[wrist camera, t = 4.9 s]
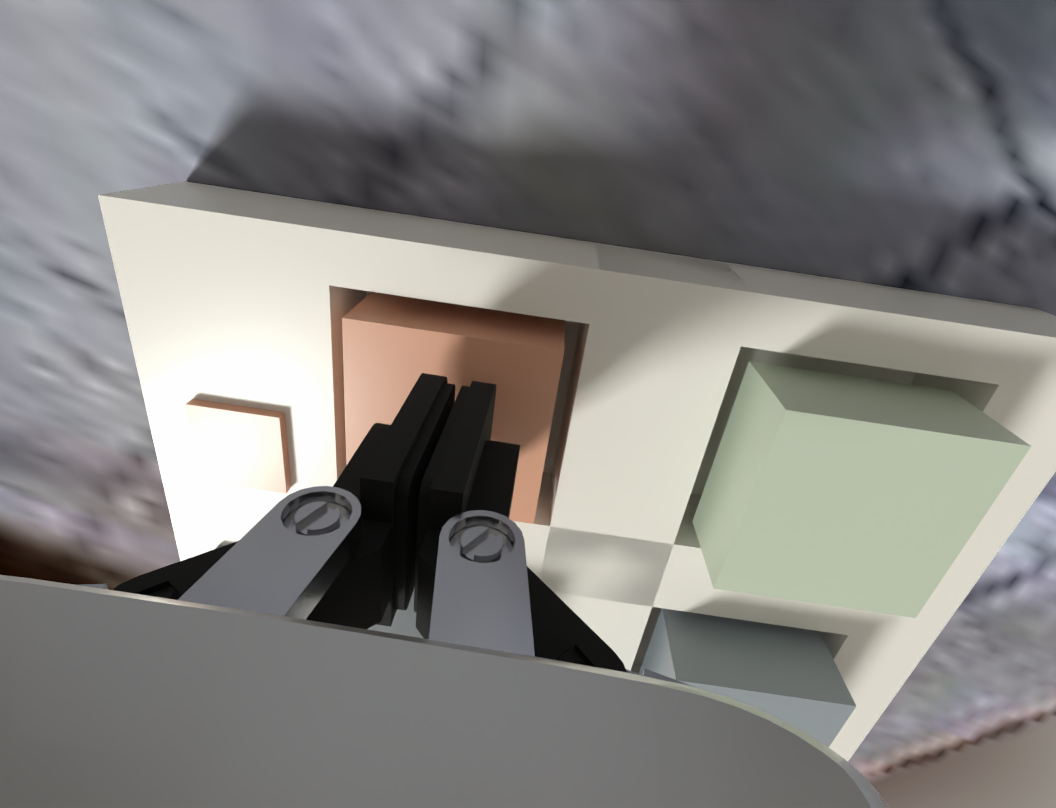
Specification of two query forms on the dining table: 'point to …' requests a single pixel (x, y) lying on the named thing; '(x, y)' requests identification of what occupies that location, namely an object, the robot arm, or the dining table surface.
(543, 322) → the key terracotta
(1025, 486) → the keypad
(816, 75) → the dining table surface
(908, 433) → the key sage
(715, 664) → the key slate
